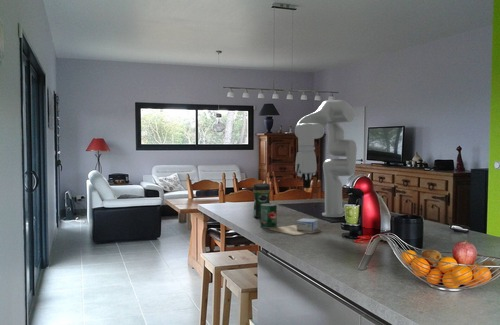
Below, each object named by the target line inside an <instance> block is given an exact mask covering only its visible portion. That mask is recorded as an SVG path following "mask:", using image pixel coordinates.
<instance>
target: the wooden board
mask: <svg viewBox="0 0 500 325" xmlns="http://www.w3.org/2000/svg"><path fill="white" fill-rule="evenodd" d="M269 230H270V231H273V232H279V233H281V234H286V235H290V236H293V237H296V236H300V235H301V236H302V235H307V234H313V233H319V232H320V233H321V230H319V229H316V230H314V231H303V230H297V224H291V225H286V226H280V227H278V226H277V227H275V228H269Z"/></svg>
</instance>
